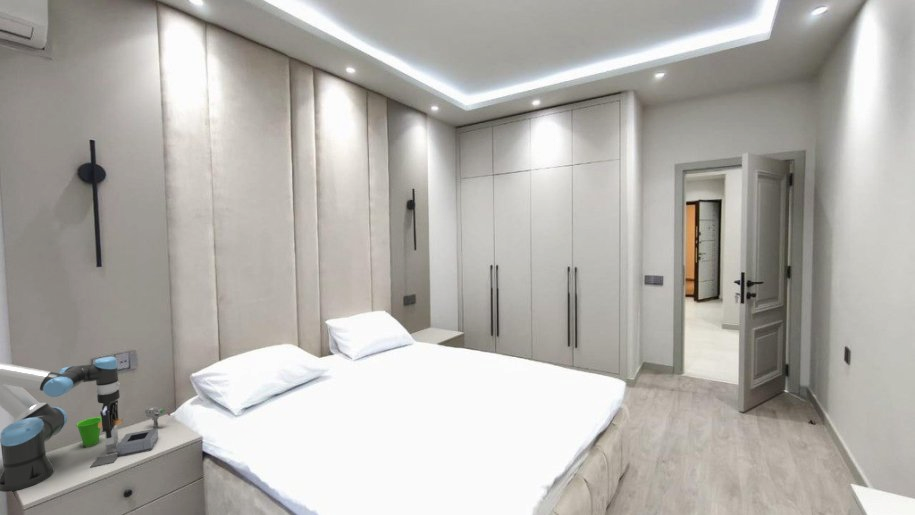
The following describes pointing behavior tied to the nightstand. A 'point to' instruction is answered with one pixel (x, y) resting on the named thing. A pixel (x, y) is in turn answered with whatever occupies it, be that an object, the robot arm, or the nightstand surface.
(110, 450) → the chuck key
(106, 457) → the mat
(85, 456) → the nightstand surface
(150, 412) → the mechanical component
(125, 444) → the chuck block
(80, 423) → the cup
